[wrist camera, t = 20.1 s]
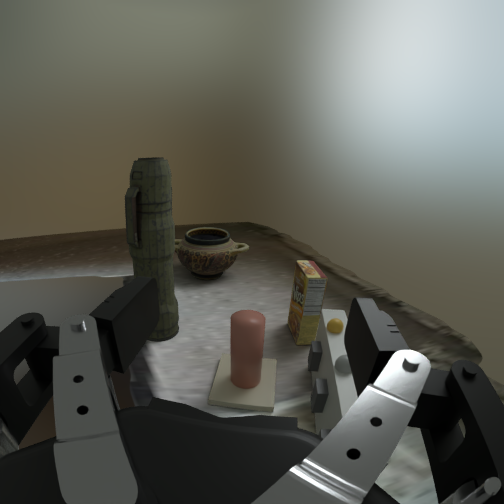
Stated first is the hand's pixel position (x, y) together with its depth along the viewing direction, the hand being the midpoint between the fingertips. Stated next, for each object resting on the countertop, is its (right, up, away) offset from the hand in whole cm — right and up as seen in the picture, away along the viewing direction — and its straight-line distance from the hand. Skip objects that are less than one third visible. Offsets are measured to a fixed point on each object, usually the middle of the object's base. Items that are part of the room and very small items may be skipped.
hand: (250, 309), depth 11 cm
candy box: (+11, -16, +50) cm, 53 cm away
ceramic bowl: (-14, -5, +77) cm, 79 cm away
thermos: (-20, -15, +47) cm, 53 cm away
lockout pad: (-1, -20, +35) cm, 40 cm away
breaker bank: (+12, -24, +26) cm, 37 cm away
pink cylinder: (-1, -19, +34) cm, 39 cm away
